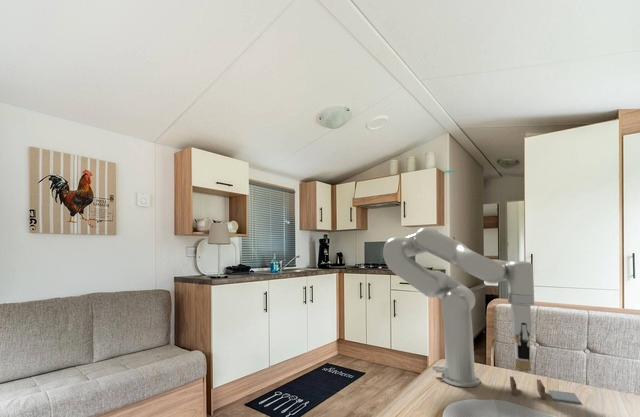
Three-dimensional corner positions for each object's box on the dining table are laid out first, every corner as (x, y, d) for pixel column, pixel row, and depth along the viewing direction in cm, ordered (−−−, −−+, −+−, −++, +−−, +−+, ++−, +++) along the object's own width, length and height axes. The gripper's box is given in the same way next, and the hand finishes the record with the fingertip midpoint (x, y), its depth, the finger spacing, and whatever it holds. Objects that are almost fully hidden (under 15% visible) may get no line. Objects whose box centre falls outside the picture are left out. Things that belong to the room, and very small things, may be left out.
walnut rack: (513, 395, 113) (512, 383, 113) (510, 387, 119) (509, 376, 120) (545, 399, 110) (544, 387, 110) (540, 390, 116) (540, 379, 117)
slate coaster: (553, 400, 109) (553, 398, 109) (548, 391, 116) (548, 389, 116) (581, 404, 106) (580, 402, 107) (574, 395, 113) (574, 393, 113)
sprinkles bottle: (533, 370, 115) (532, 327, 116) (526, 373, 113) (525, 329, 114) (519, 366, 119) (518, 324, 120) (512, 368, 116) (511, 326, 118)
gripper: (505, 294, 127) (506, 347, 125) (511, 302, 111) (513, 363, 110) (529, 296, 124) (531, 350, 123) (539, 304, 108) (541, 366, 107)
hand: (522, 355), depth 116 cm, fingers closed on sprinkles bottle, 4 cm apart
